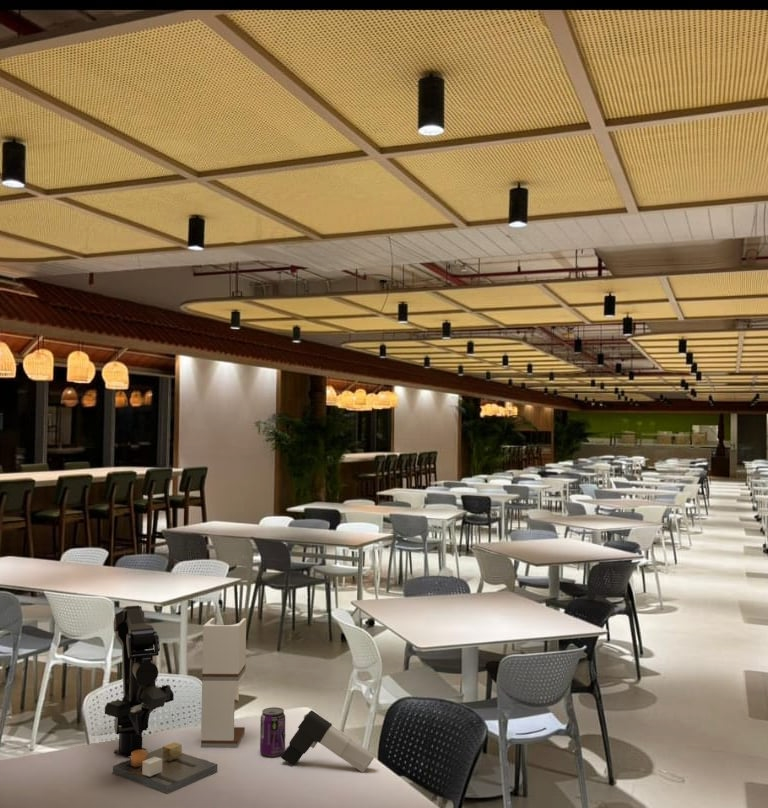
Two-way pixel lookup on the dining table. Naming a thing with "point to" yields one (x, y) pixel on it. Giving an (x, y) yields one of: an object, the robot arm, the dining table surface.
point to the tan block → (172, 751)
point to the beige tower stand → (222, 683)
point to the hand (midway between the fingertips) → (139, 734)
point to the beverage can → (272, 731)
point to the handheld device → (325, 742)
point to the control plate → (168, 772)
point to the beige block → (152, 766)
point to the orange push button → (138, 757)
